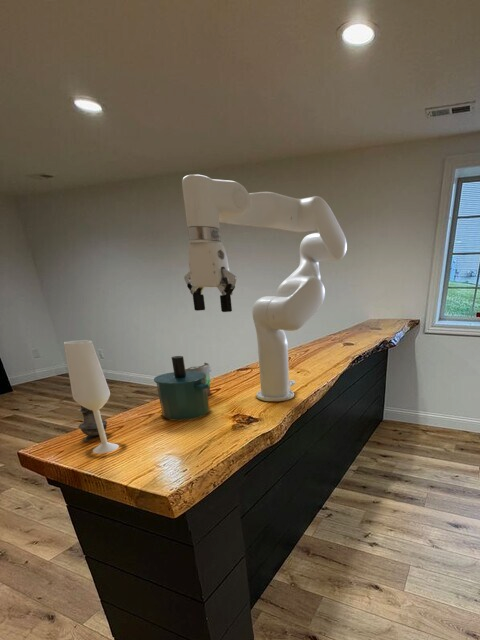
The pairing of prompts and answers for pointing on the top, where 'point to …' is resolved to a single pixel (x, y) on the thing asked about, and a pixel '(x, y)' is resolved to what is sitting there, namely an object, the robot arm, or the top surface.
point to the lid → (179, 374)
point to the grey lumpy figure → (90, 424)
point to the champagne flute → (88, 384)
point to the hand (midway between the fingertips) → (213, 311)
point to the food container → (205, 370)
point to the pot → (184, 400)
